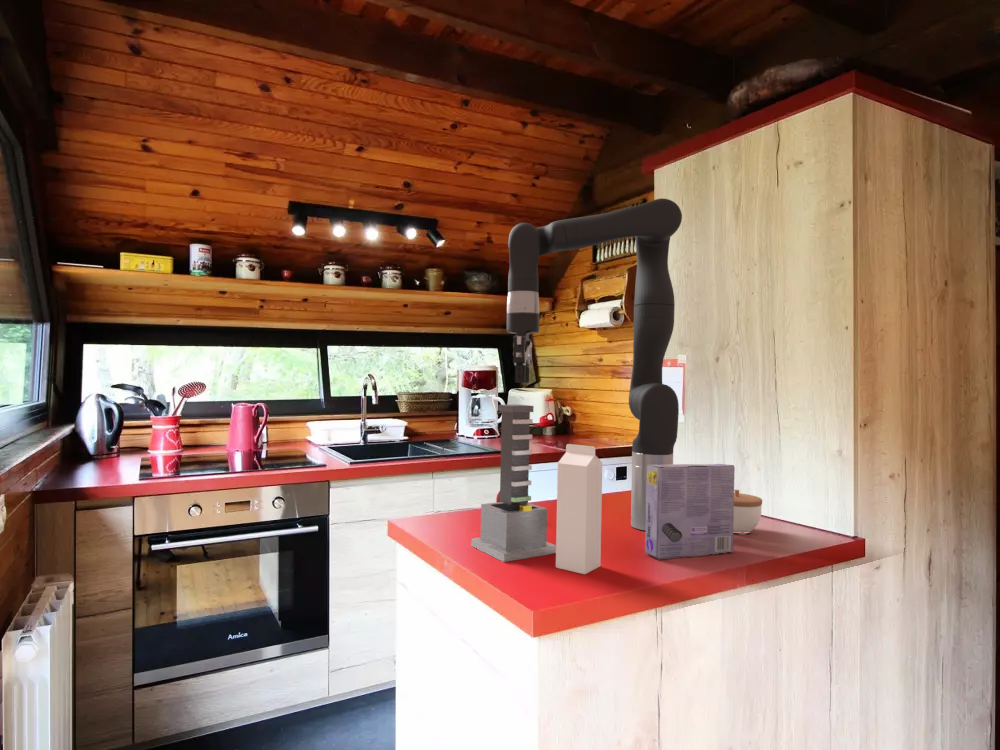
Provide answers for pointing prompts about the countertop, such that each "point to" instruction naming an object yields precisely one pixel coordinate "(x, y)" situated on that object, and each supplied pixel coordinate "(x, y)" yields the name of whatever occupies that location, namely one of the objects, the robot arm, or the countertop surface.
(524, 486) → the column
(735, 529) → the lidded jar
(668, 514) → the cake pan box
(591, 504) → the milk
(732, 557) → the countertop surface
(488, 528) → the stand
